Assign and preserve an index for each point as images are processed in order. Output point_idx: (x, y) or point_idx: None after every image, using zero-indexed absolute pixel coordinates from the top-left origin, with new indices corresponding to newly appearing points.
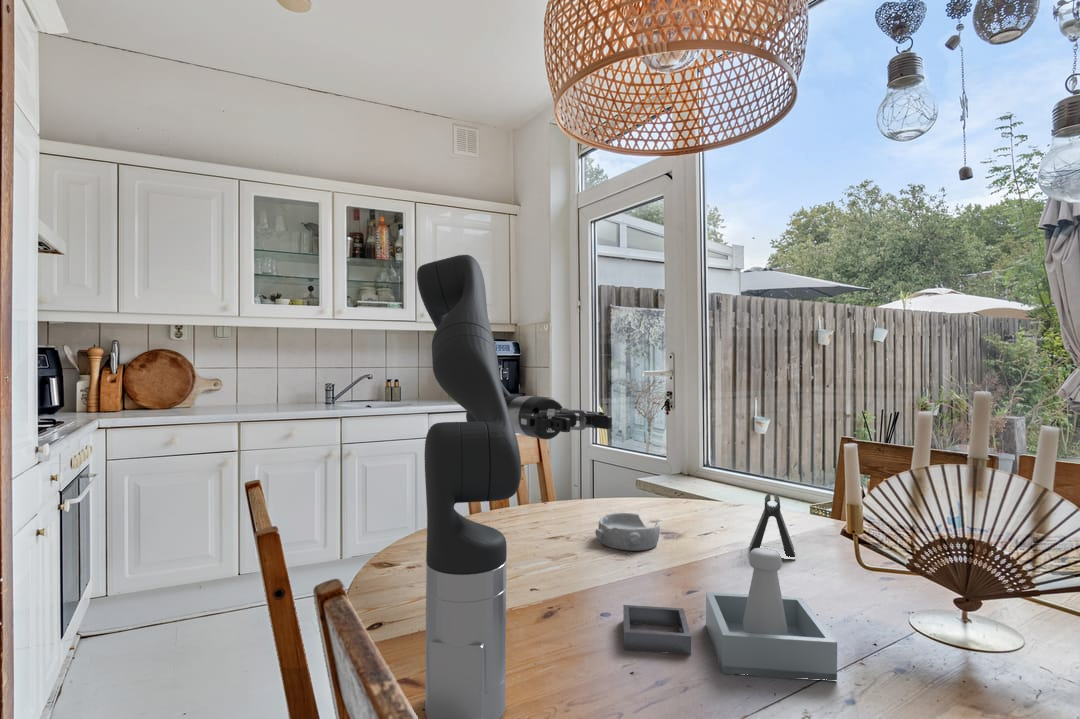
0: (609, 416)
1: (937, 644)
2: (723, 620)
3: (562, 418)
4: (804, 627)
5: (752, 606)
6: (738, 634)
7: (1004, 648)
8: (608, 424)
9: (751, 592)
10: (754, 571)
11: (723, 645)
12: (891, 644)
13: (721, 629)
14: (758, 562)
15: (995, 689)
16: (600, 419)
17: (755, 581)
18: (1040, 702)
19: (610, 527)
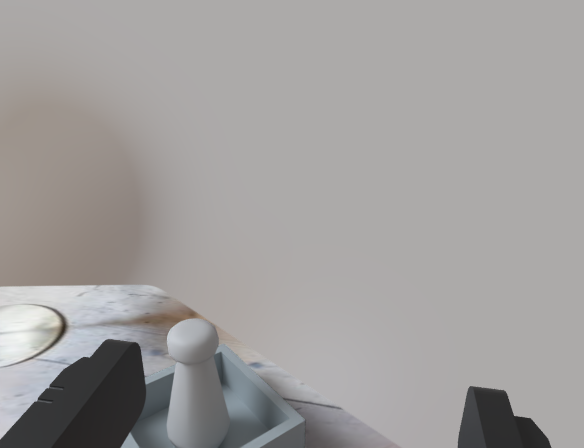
0: (119, 340)
1: (66, 342)
2: (259, 437)
3: (515, 422)
4: (148, 404)
5: (219, 403)
6: (288, 408)
7: (46, 311)
8: (144, 378)
9: (211, 392)
10: (206, 363)
11: (304, 430)
12: None
13: (291, 427)
14: (218, 339)
15: (148, 309)
16: (98, 418)
17: (211, 372)
18: (153, 293)
19: None
